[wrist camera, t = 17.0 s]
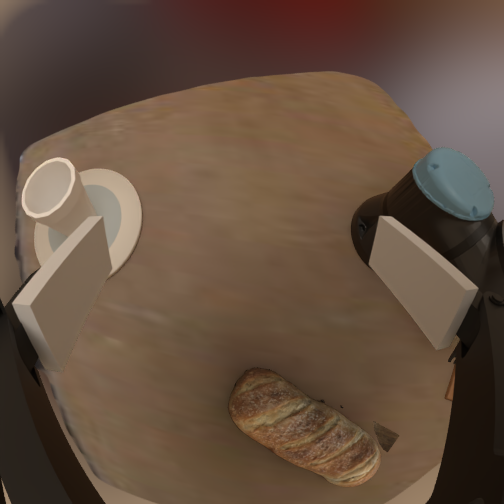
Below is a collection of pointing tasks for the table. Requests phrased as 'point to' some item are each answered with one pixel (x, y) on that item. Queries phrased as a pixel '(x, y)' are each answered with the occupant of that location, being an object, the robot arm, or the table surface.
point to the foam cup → (57, 196)
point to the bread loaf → (305, 429)
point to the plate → (113, 211)
